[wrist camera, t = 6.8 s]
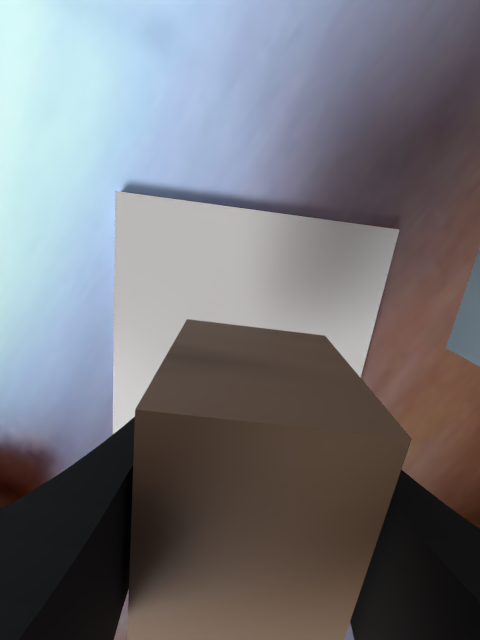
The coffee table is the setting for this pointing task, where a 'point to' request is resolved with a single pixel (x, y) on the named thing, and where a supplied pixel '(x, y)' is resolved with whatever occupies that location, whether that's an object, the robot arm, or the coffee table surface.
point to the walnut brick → (256, 488)
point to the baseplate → (236, 280)
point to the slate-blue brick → (468, 320)
